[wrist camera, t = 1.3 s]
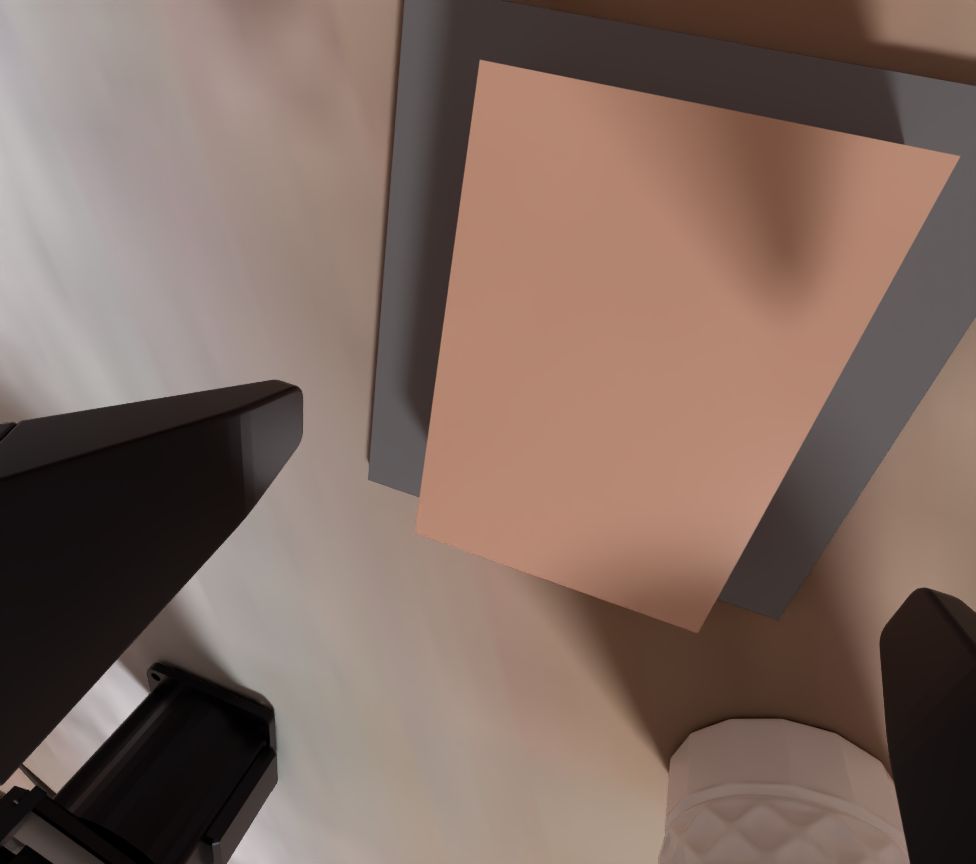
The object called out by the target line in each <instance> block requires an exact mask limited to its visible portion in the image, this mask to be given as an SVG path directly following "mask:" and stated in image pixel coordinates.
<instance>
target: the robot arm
mask: <svg viewBox="0 0 976 864" xmlns="http://www.w3.org/2000/svg"><path fill="white" fill-rule="evenodd" d="M302 434H303V394H302V391H301V389H300V388H299V387H298V386H295V385H292V384H289V383H286V382H283V381H280V380H269V381H262V382H256V383H250V384H244V385H238V386H232V387H226V388H219V389H213V390H207V391H201V392H195V393H189V394H183V395H177V396H170V397H164V398H158V399H152V400H146V401H140V402H134V403H127V404H121V405H115V406H109V407H103V408H97V409H91V410H84V411H78V412H72V413H66V414H60V415H54V416H48V417H42V418H35V419H29V420H23V421H20V422H19V423H18V424H17V423H15V422H10V423H4V424H0V786H1V785H3V784H4V783H5V782H6V781H7V780H8V779H9V778H10V777H11V775H12V774H13V773H14V772H15V771H16V770H17V769H18V768H19V767H20V766H21V764H22V763H23V762H24V761H25V760H26V759H27V758H28V757H29V756H30V755H31V753H32V752H33V751H34V750H35V749H36V748H37V747H38V746H39V745H40V744H41V743H42V741H43V740H44V739H45V738H46V737H47V736H48V735H49V734H50V733H51V732H52V730H53V729H54V728H55V727H56V726H57V725H58V724H59V723H60V722H61V721H62V719H63V718H64V717H65V716H66V715H67V714H68V713H69V712H70V711H71V710H72V708H73V707H74V706H75V705H76V704H77V703H78V702H79V701H80V700H81V699H82V697H83V696H84V695H85V694H86V693H87V692H88V691H89V690H90V689H91V688H92V686H93V685H94V684H95V683H96V682H97V681H98V680H99V679H100V678H101V677H102V675H103V674H104V673H105V672H106V671H107V670H108V669H109V668H110V667H111V666H112V665H113V663H114V662H115V661H116V660H117V659H118V658H119V657H120V656H121V655H122V654H123V652H124V651H125V650H126V649H127V648H128V647H129V646H130V645H131V644H132V643H133V641H134V640H135V639H136V638H137V637H138V636H139V635H140V634H141V633H142V632H143V630H144V629H145V628H146V627H147V626H148V625H149V624H150V623H151V622H152V621H153V619H154V618H155V617H156V616H157V615H158V614H159V613H160V612H161V611H162V610H163V608H164V607H165V606H166V605H167V604H168V603H169V602H170V601H171V600H172V599H173V597H174V596H175V595H176V594H177V593H178V592H179V591H180V590H181V589H182V588H183V587H184V585H185V584H186V583H187V582H188V581H189V580H190V579H191V578H192V577H193V576H194V574H195V573H196V572H197V571H198V570H199V569H200V568H201V567H202V566H203V565H204V563H205V562H206V561H207V560H208V559H209V558H210V557H211V556H212V555H213V554H214V552H215V551H216V550H217V549H218V548H219V547H220V546H221V545H222V544H223V543H224V541H225V540H226V539H227V538H228V537H229V536H230V535H231V534H232V533H233V532H234V530H235V529H236V528H237V527H238V526H239V525H240V524H241V522H242V521H243V520H244V519H245V518H246V517H247V515H248V514H249V513H250V512H251V510H252V509H253V508H254V506H255V505H256V504H257V502H258V501H259V500H260V498H261V497H262V495H263V494H264V493H265V491H266V490H267V489H268V487H269V486H270V484H271V483H272V482H273V480H274V479H275V478H276V476H277V475H278V473H279V472H280V471H281V469H282V468H283V467H284V465H285V464H286V462H287V461H288V460H289V458H290V457H291V456H292V454H293V453H294V451H295V450H296V449H297V447H298V445H299V443H300V441H301V438H302ZM880 658H881V671H882V684H883V696H884V709H885V722H886V734H887V743H888V752H889V758H890V764H891V770H892V776H893V781H894V786H895V791H896V796H897V801H898V806H899V811H900V816H901V821H902V826H903V831H904V836H905V841H906V846H907V852H908V857H909V862H910V864H976V612H974V611H973V610H972V609H971V608H970V607H968V606H967V605H966V604H965V603H964V602H962V601H961V600H960V599H958V598H956V597H954V596H951V595H948V594H945V593H942V592H939V591H936V590H932V589H929V588H919V589H917V590H915V591H913V592H912V593H911V594H910V595H909V597H908V598H907V599H906V600H905V602H904V603H903V604H902V605H901V607H900V608H899V609H898V610H897V612H896V613H895V614H894V615H893V617H892V618H891V619H890V620H889V622H888V623H887V624H886V625H885V627H884V629H883V631H882V633H881V637H880ZM147 677H148V681H149V686H150V690H151V693H150V694H149V695H148V696H147V697H146V698H145V699H144V700H143V701H142V703H141V704H140V705H139V706H138V707H137V708H136V709H135V710H134V711H133V712H132V713H131V714H130V715H129V717H128V718H127V719H126V720H125V721H124V722H123V723H122V724H121V725H120V726H119V727H118V728H117V729H116V731H115V732H114V733H113V734H112V735H111V736H110V737H109V738H108V739H107V740H106V741H105V742H104V743H103V744H102V746H101V747H100V748H99V749H98V750H97V751H96V752H95V753H94V754H93V755H92V756H91V757H90V758H89V760H88V761H87V762H86V763H85V764H84V765H83V766H82V767H81V768H80V769H79V770H78V771H77V772H76V774H75V775H74V776H73V777H72V778H71V779H70V780H69V781H68V782H67V783H66V784H65V785H64V786H63V788H62V789H61V790H60V791H59V792H58V793H57V794H56V795H55V796H54V797H53V798H51V797H49V796H48V795H47V794H48V793H49V792H48V791H46V790H45V789H43V788H42V787H41V786H39V785H38V784H37V785H36V786H35V787H34V788H33V789H32V790H31V791H29V790H26V789H23V788H20V787H17V786H14V787H13V788H12V789H11V790H10V791H9V792H8V793H7V794H6V795H5V796H4V797H3V798H2V799H1V800H0V864H227V862H228V861H229V859H230V857H231V856H232V854H233V853H234V851H235V849H236V848H237V846H238V844H239V843H240V841H241V840H242V838H243V836H244V835H245V833H246V832H247V830H248V828H249V827H250V825H251V823H252V822H253V820H254V819H255V817H256V815H257V814H258V812H259V811H260V809H261V807H262V806H263V804H264V802H265V801H266V799H267V798H268V796H269V794H270V793H271V791H272V790H273V789H274V787H275V785H276V784H277V781H278V774H277V754H276V738H275V718H274V715H273V714H272V713H271V712H270V711H269V710H267V709H265V708H263V707H261V706H259V705H256V704H254V703H252V702H249V701H247V700H245V699H242V698H240V697H238V696H235V695H233V694H231V693H228V692H226V691H224V690H221V689H219V688H217V687H215V686H212V685H210V684H208V683H205V682H203V681H201V680H198V679H196V678H194V677H191V676H189V675H187V674H184V673H182V672H180V671H177V670H175V669H173V668H170V667H168V666H166V665H163V664H161V663H158V662H157V663H154V664H153V665H152V666H151V667H150V668H149V669H148V670H147ZM12 837H15V838H16V839H18V840H19V841H20V842H22V843H23V844H25V846H24V847H23V848H22V849H21V851H20V852H19V853H18V854H17V855H16V854H15V853H13V852H12V851H11V850H9V849H8V848H6V847H5V845H6V844H7V843H8V842H9V841H10V839H11V838H12Z"/></svg>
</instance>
